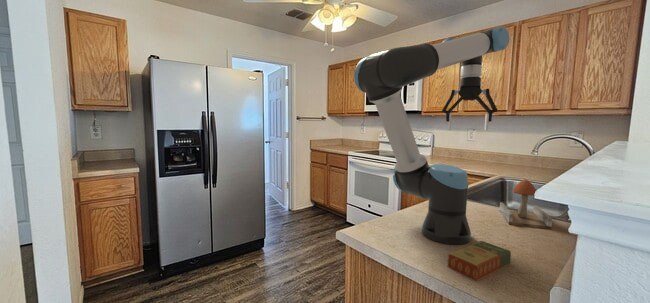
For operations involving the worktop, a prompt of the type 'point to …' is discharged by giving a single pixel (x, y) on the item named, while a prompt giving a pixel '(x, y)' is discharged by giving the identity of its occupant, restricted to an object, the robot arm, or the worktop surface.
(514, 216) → the track
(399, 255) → the worktop surface
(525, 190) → the mushroom
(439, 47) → the robot arm
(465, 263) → the carton
